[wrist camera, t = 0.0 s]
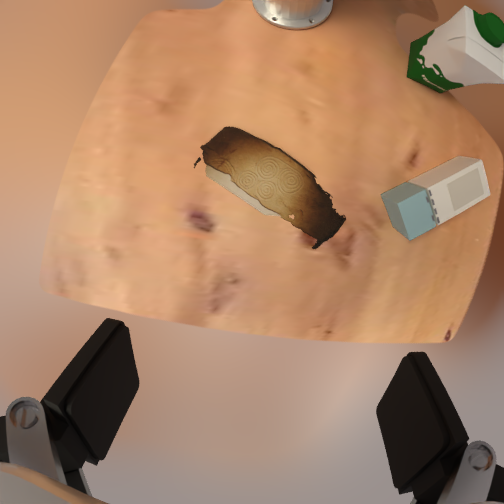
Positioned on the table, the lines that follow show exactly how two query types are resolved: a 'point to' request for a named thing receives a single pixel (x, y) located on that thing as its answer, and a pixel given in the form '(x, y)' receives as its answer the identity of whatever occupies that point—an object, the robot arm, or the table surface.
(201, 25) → the table surface
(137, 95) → the table surface
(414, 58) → the milk carton
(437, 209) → the block
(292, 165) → the parchment
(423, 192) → the stub
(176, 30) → the table surface
